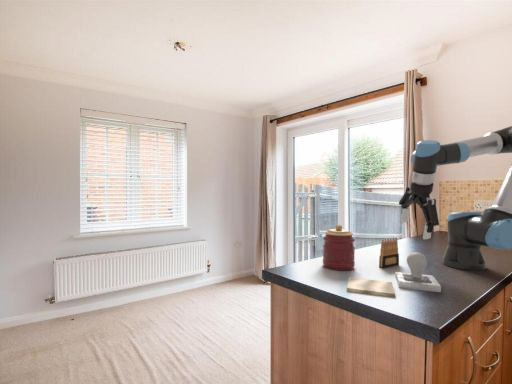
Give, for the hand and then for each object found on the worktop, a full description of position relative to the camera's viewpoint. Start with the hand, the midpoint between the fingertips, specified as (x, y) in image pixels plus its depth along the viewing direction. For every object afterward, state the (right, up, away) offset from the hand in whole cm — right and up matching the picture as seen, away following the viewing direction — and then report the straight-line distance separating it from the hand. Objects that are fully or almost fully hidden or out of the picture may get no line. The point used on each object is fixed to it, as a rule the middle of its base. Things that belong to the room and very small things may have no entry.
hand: (414, 229), depth 119 cm
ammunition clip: (-9, -16, +4) cm, 19 cm away
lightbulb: (-10, -16, -19) cm, 27 cm away
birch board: (-27, -16, -23) cm, 39 cm away
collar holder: (-10, -16, -19) cm, 27 cm away
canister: (-31, -16, +3) cm, 35 cm away
